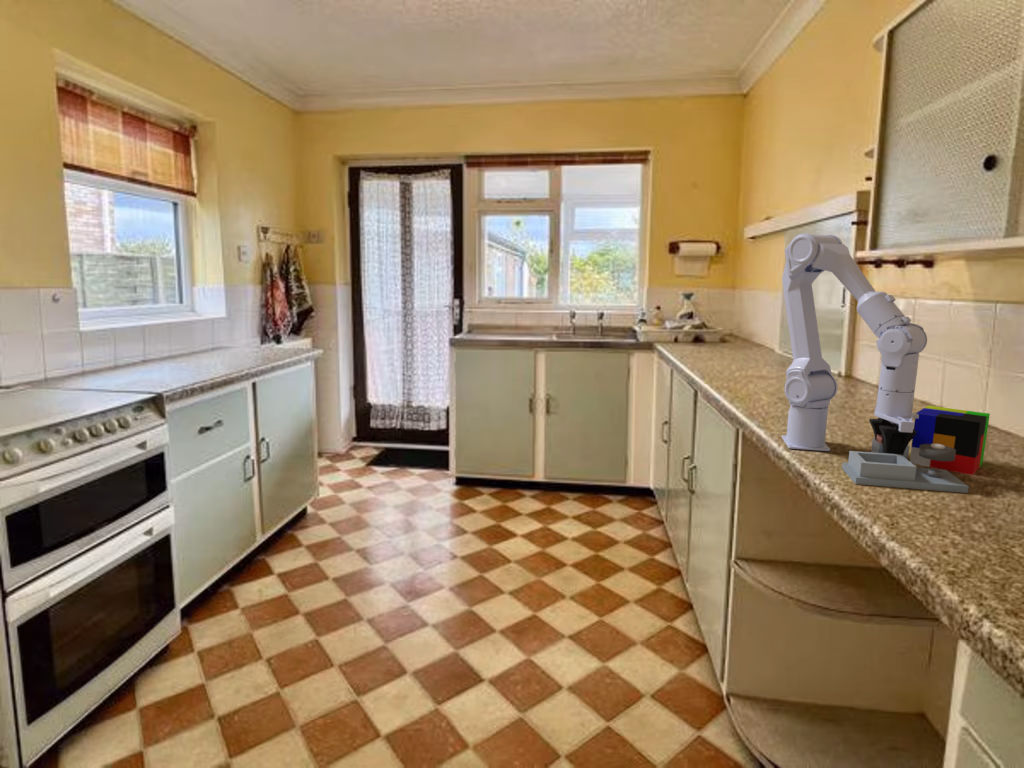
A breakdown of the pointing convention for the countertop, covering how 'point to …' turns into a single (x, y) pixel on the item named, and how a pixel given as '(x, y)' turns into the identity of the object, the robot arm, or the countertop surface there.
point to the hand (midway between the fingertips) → (888, 460)
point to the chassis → (898, 473)
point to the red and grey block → (879, 446)
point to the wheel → (937, 452)
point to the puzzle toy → (951, 437)
